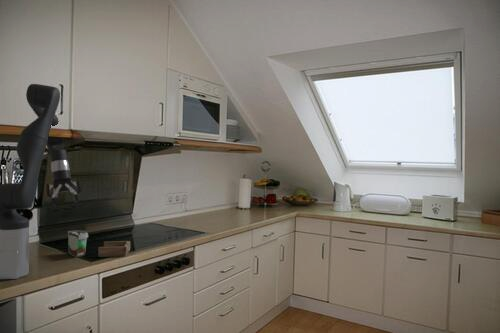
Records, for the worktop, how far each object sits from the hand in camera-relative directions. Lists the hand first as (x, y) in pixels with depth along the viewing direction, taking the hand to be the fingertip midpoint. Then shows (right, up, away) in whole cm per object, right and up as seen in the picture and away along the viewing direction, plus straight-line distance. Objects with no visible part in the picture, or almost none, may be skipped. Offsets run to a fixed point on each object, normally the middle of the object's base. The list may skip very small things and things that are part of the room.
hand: (65, 204), depth 163 cm
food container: (+10, -22, -7) cm, 25 cm away
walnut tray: (+25, -22, -4) cm, 33 cm away
